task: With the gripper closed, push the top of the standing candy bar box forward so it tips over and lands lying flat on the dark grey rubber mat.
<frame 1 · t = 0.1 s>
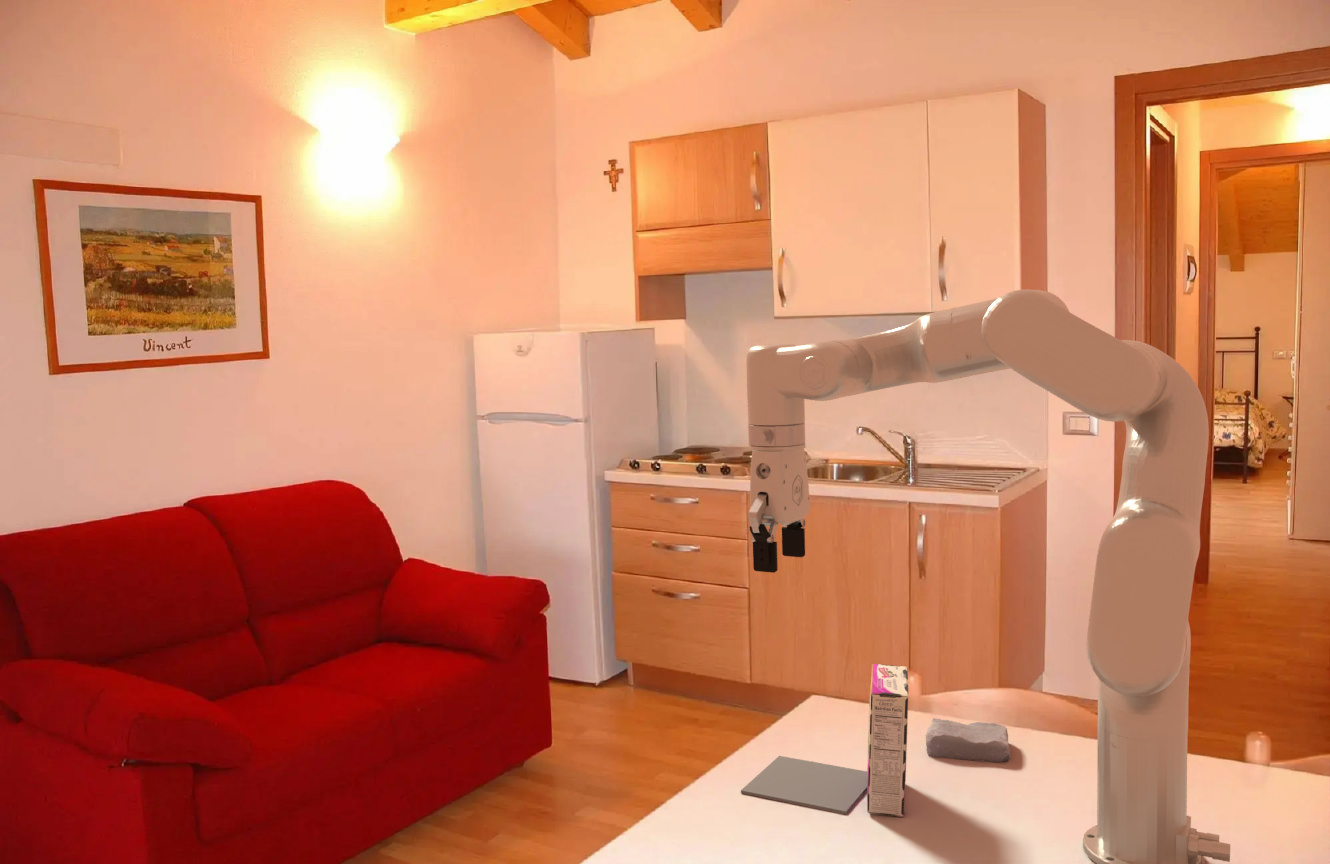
hand: (780, 563, 145), 31 cm above the table, tool pointing down, fingers open, 9 cm apart
stone block: (967, 750, 159), on the table
candy bar box: (884, 798, 143), on the table, touching mat
mat: (810, 784, 148), on the table
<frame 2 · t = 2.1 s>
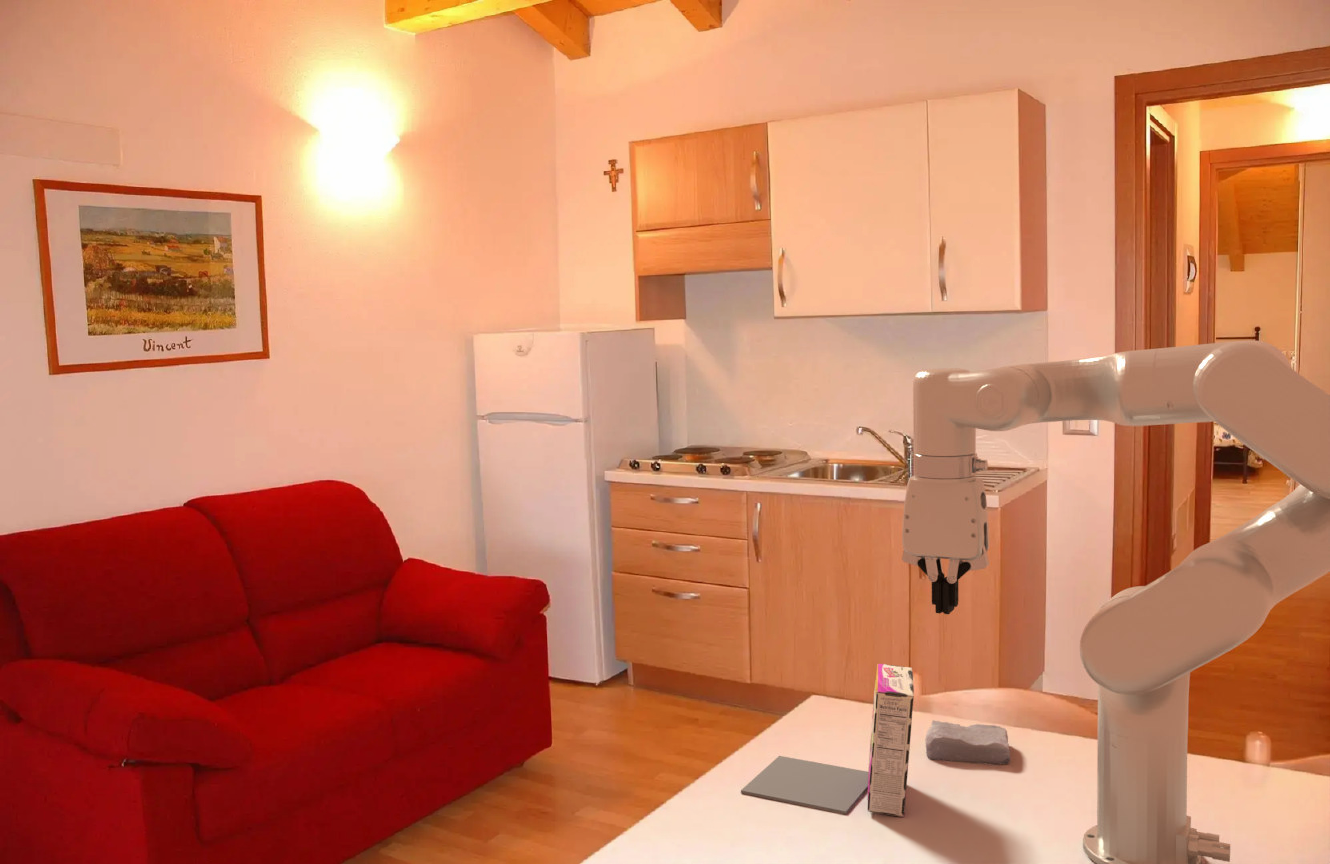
hand: (945, 610, 136), 26 cm above the table, tool pointing down, fingers closed
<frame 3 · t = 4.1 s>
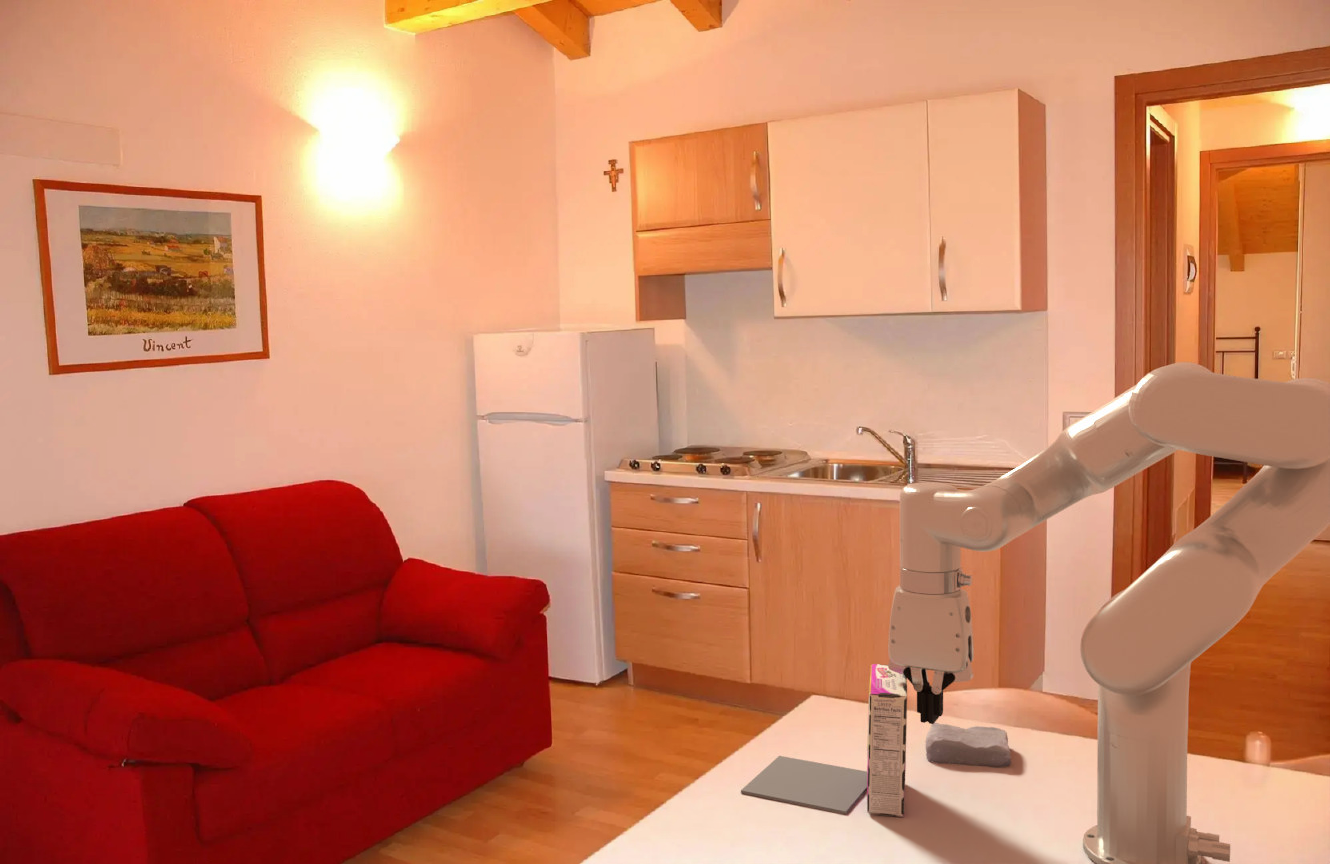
hand: (930, 719, 139), 12 cm above the table, tool pointing down, fingers closed
candy bar box: (884, 798, 143), on the table, touching gripper, mat
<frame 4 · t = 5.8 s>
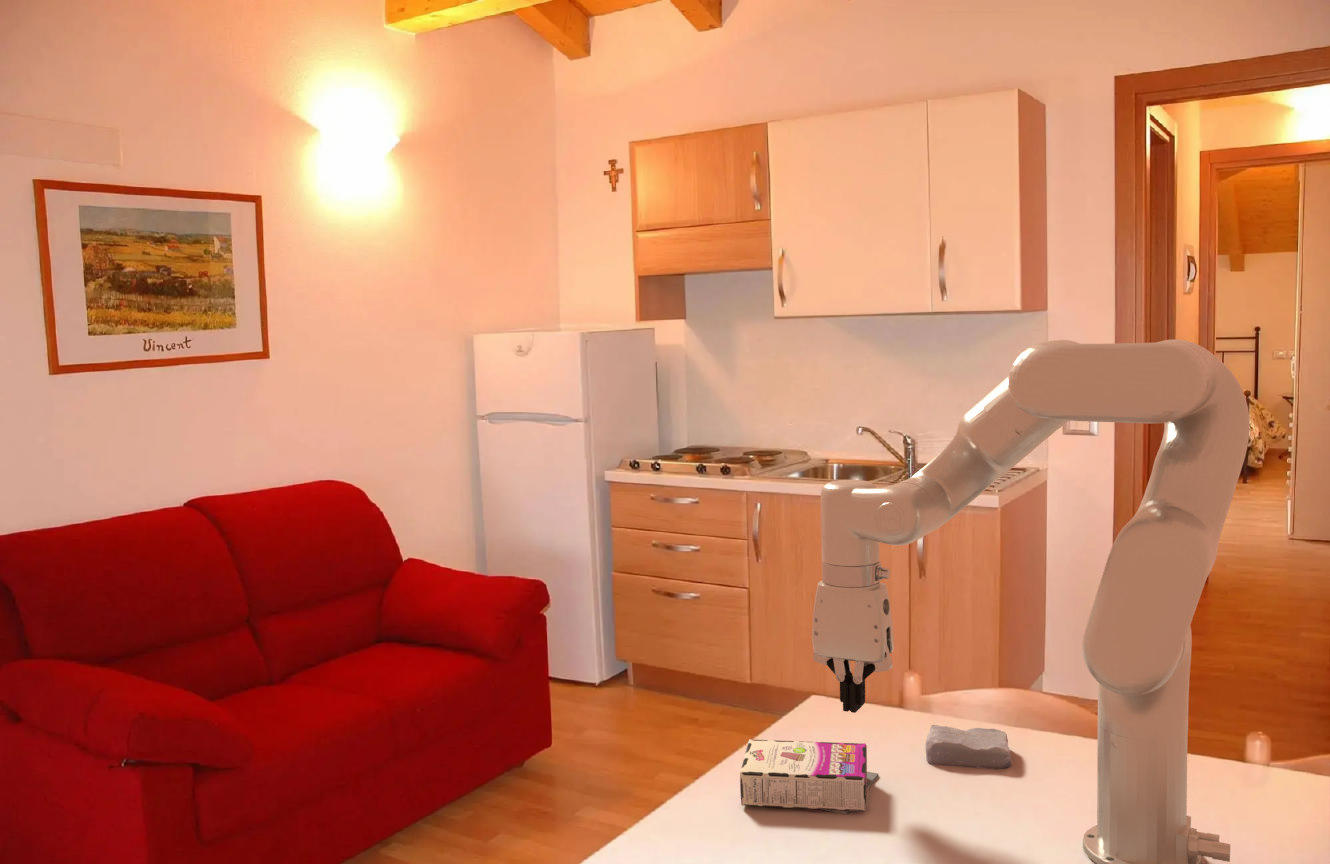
hand: (852, 708, 144), 12 cm above the table, tool pointing down, fingers closed
candy bar box: (868, 777, 143), point 3 cm above the table, touching mat
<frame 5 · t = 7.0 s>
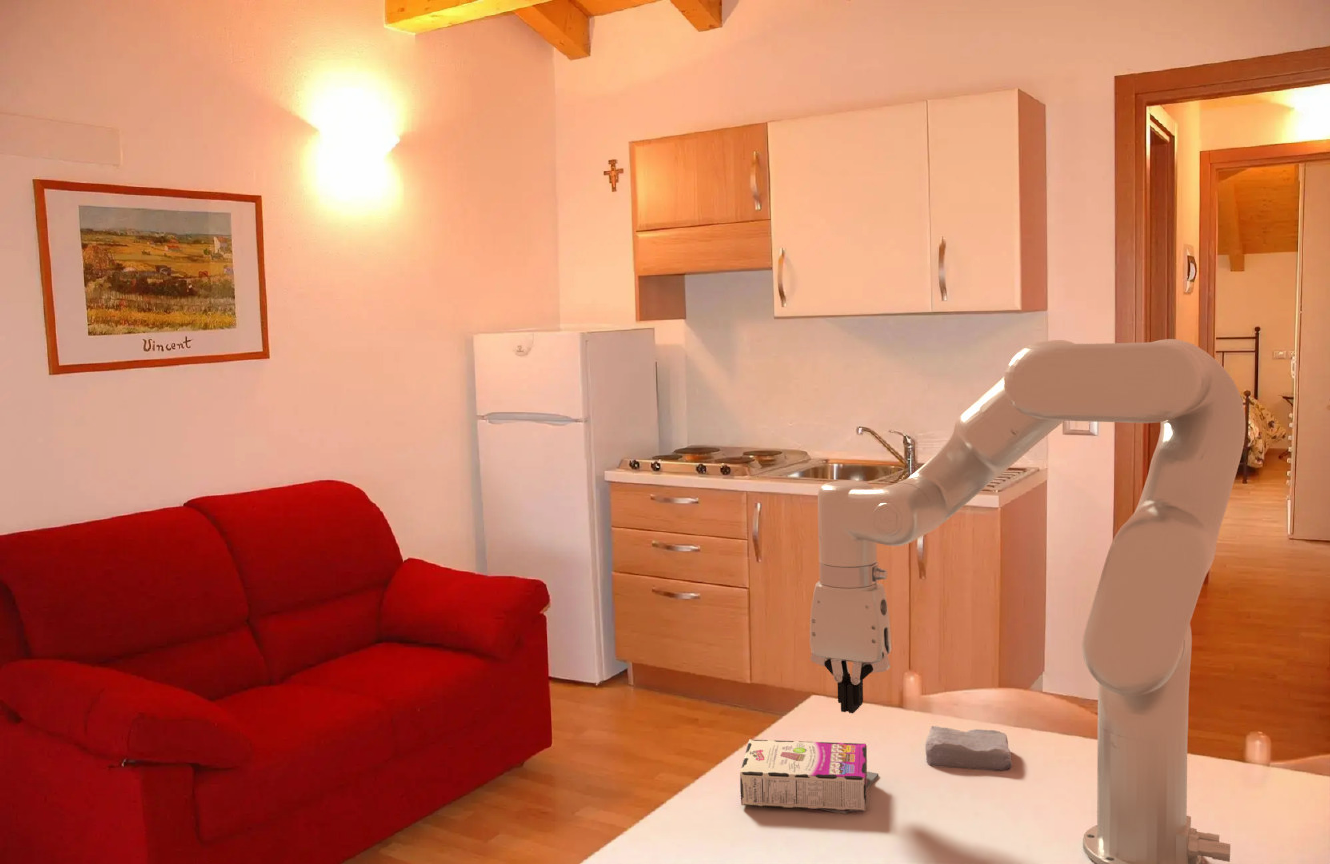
hand: (850, 709, 144), 12 cm above the table, tool pointing down, fingers closed
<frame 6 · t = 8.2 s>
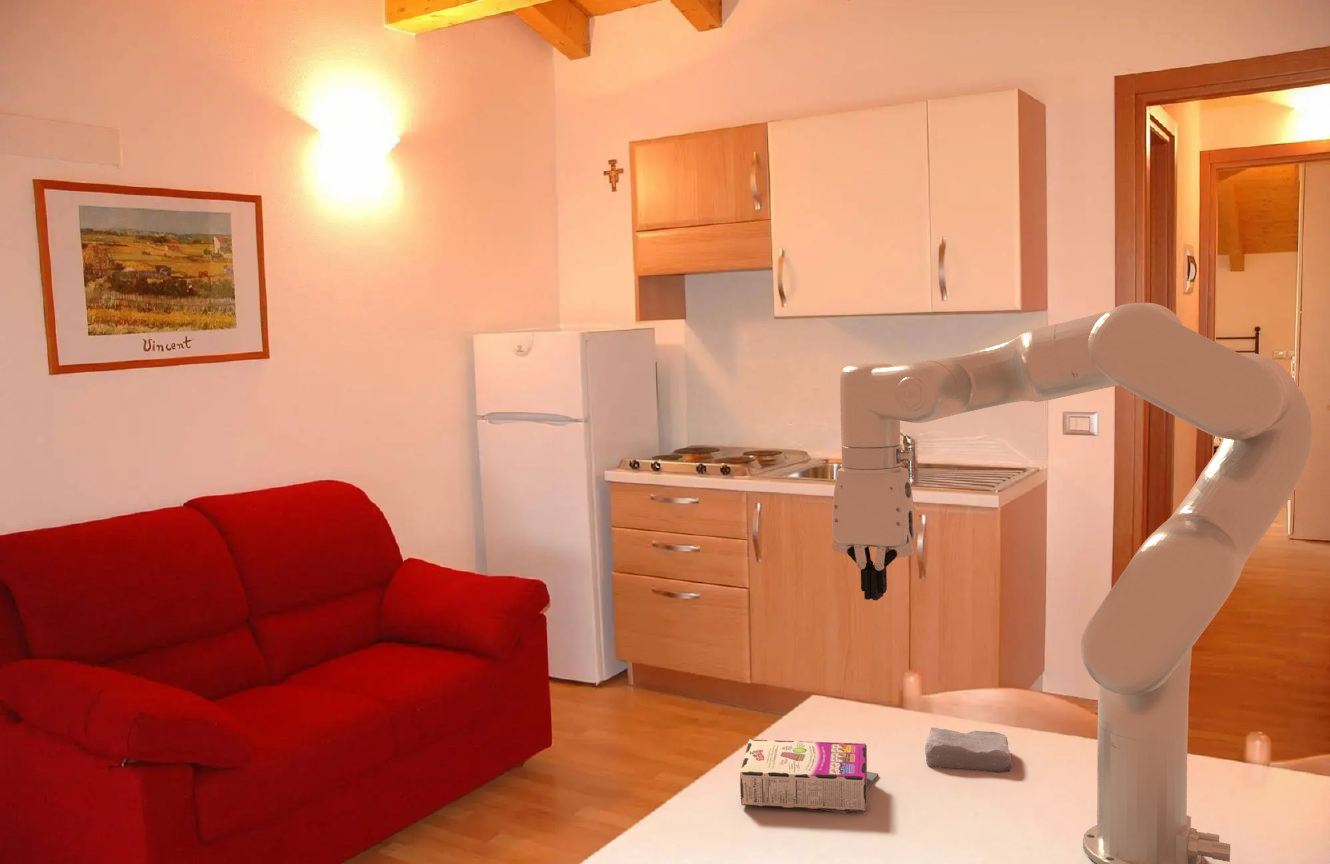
hand: (874, 597, 141), 27 cm above the table, tool pointing down, fingers closed
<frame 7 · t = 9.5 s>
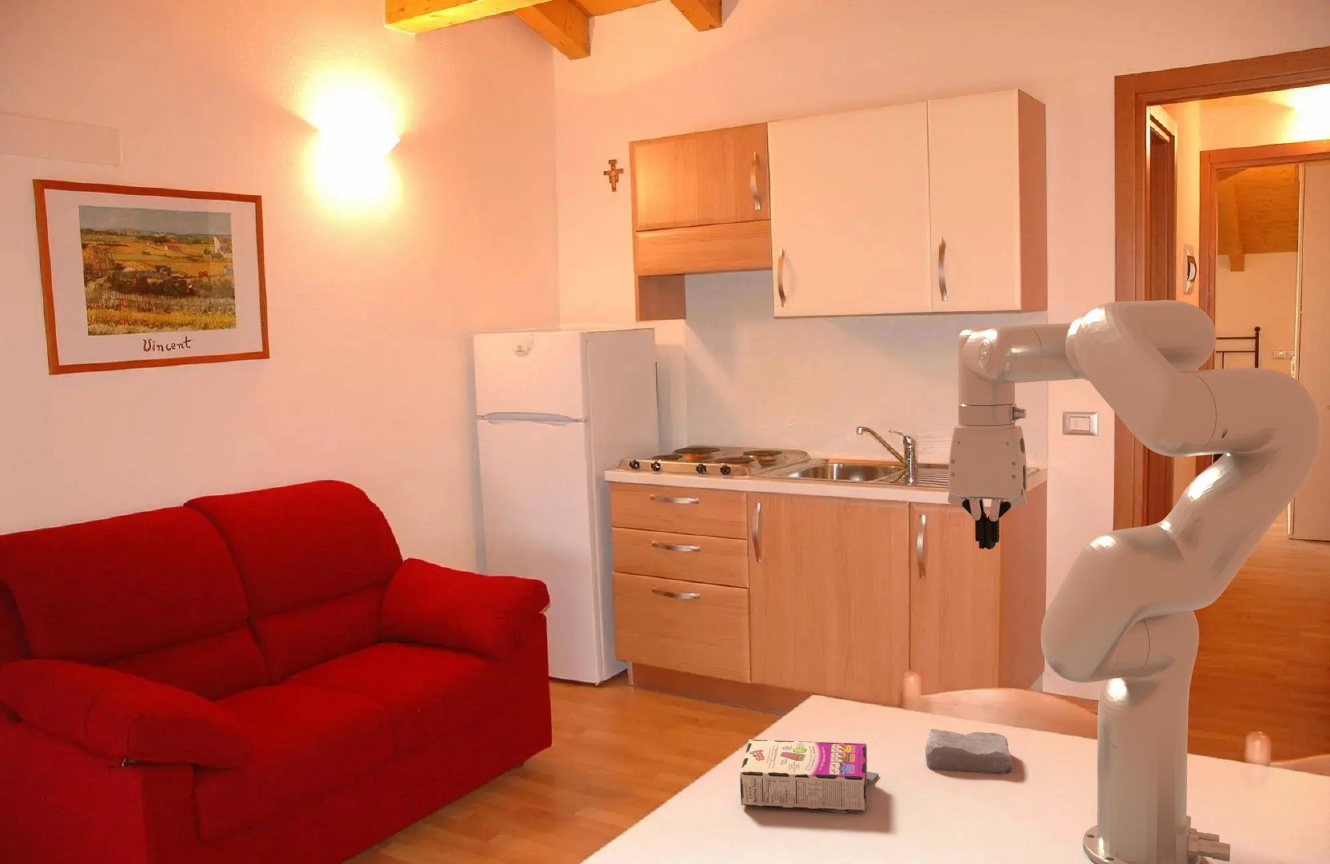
hand: (987, 547, 151), 31 cm above the table, tool pointing down, fingers closed
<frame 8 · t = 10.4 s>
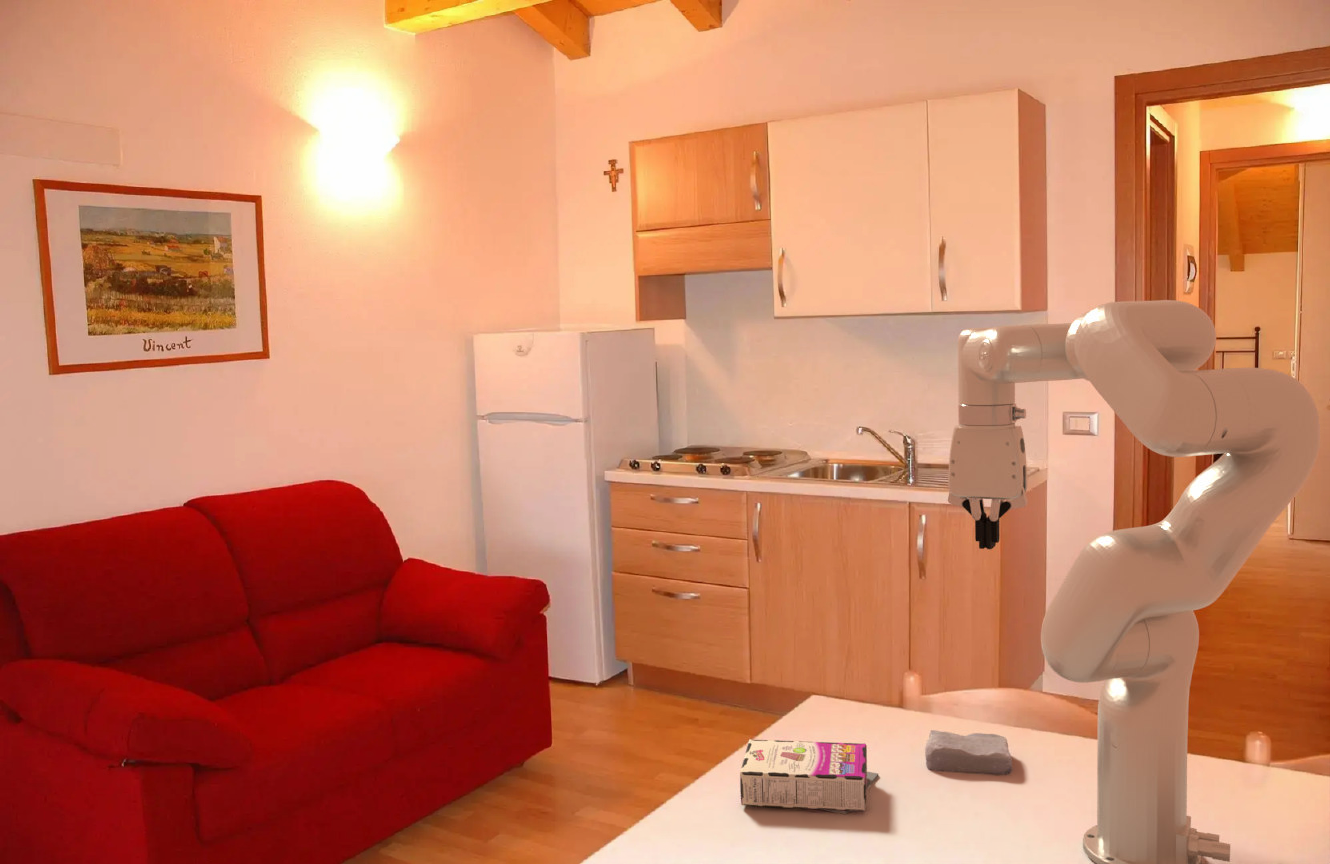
hand: (987, 547, 151), 31 cm above the table, tool pointing down, fingers closed
at the end: candy bar box tilted 89°; candy bar box inside the target area (10.5 cm from its centre), point 2.8 cm above the table; the gripper is holding nothing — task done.
